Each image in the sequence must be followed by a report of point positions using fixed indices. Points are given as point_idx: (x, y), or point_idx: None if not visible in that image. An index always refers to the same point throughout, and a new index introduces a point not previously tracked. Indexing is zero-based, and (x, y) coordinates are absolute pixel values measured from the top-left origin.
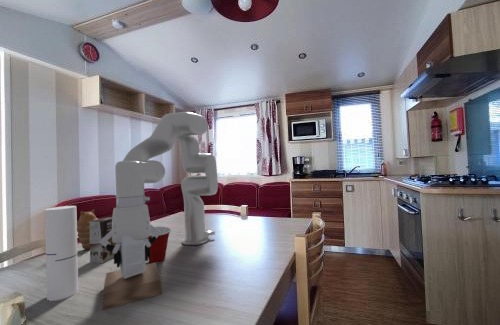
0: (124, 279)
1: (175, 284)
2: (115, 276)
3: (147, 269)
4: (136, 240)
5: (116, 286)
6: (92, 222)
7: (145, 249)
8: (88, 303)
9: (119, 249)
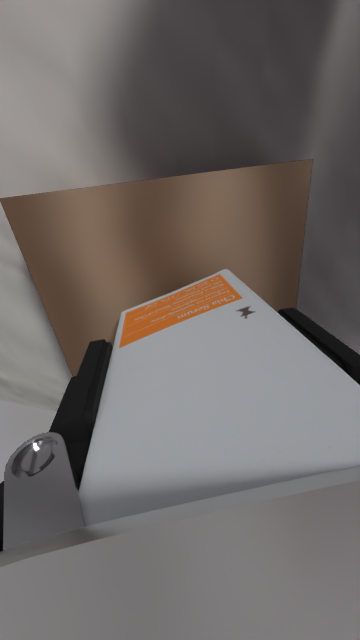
0: None
1: (315, 313)
2: (89, 285)
3: (252, 263)
4: None
5: None
6: None
7: None
8: (29, 333)
9: (93, 444)
